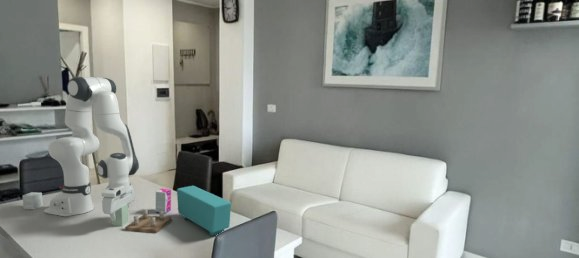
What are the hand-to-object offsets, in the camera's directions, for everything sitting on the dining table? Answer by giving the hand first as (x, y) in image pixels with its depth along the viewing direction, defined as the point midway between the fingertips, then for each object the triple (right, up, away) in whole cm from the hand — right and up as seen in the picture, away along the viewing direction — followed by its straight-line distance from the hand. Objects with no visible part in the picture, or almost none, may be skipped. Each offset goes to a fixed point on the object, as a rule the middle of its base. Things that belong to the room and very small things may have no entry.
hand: (120, 216), depth 166 cm
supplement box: (+14, -2, +18) cm, 23 cm away
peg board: (+14, -4, 0) cm, 14 cm away
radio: (+39, -5, +2) cm, 39 cm away
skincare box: (-54, 0, +18) cm, 57 cm away
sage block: (0, -4, 0) cm, 4 cm away
